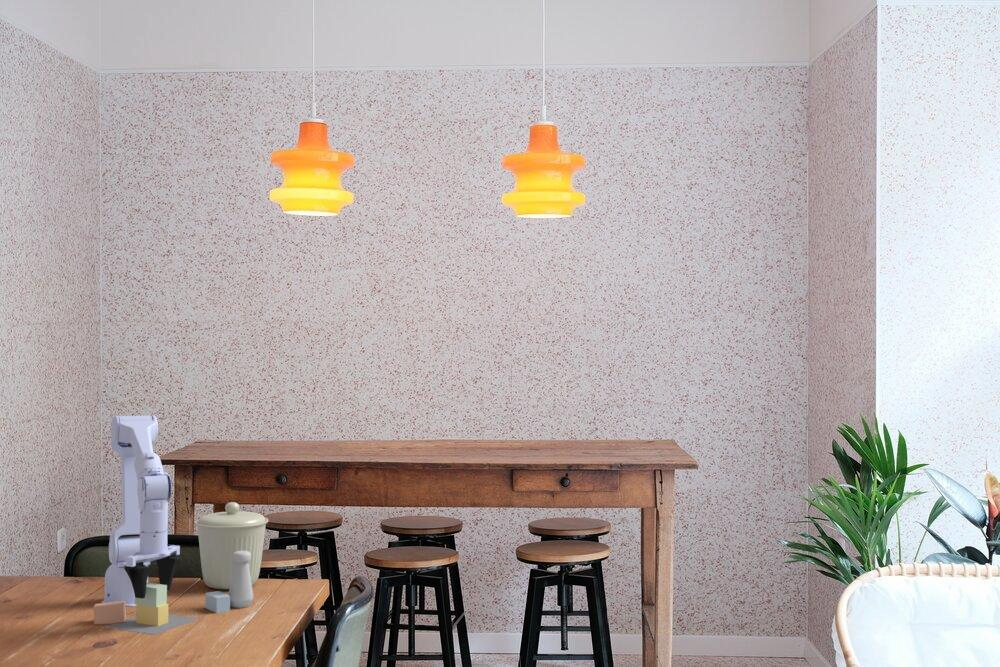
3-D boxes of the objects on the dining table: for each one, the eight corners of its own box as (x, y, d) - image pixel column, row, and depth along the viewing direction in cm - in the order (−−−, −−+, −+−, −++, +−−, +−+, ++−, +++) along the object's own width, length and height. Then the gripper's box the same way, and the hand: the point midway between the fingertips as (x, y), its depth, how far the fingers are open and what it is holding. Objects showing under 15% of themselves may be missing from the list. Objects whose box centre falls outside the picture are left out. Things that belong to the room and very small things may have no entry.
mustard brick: (136, 622, 215) (136, 604, 215) (146, 619, 218) (147, 600, 218) (157, 626, 213) (158, 607, 213) (168, 622, 216) (168, 603, 216)
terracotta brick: (94, 625, 214) (93, 606, 214) (96, 622, 217) (95, 603, 217) (124, 621, 215) (123, 603, 216) (126, 618, 218) (124, 600, 219)
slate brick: (205, 610, 228) (205, 593, 228) (218, 608, 230) (218, 591, 231) (216, 615, 224) (216, 598, 224) (229, 613, 226) (230, 595, 226)
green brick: (134, 604, 215) (134, 585, 215) (145, 600, 218) (145, 582, 218) (156, 607, 213) (156, 588, 213) (166, 603, 216) (167, 585, 216)
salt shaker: (246, 611, 227) (247, 554, 228) (223, 610, 228) (224, 553, 229) (257, 605, 233) (258, 549, 233) (234, 603, 234) (235, 548, 234)
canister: (229, 597, 240) (230, 510, 241) (178, 587, 250) (179, 503, 250) (282, 583, 255) (283, 501, 256) (232, 574, 265) (234, 495, 265)
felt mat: (103, 629, 212) (103, 626, 212) (149, 613, 225) (149, 611, 225) (154, 637, 206) (154, 634, 206) (199, 620, 219) (199, 618, 219)
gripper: (144, 537, 208) (143, 603, 207) (191, 527, 221) (190, 588, 221) (118, 535, 210) (116, 599, 210) (166, 524, 224) (165, 585, 223)
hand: (152, 593), depth 216 cm, fingers open, 7 cm apart
